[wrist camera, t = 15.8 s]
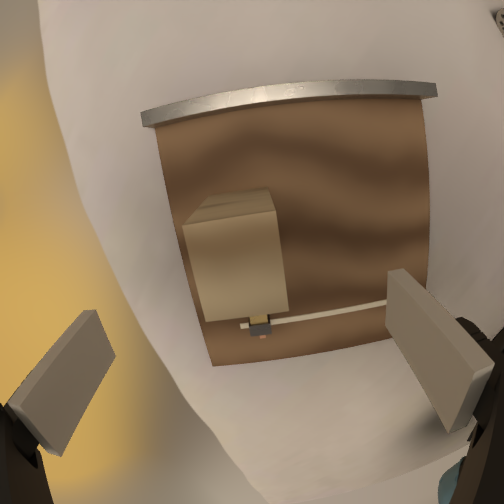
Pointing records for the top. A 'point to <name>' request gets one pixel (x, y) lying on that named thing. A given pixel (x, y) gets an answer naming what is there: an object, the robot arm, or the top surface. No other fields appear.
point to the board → (309, 200)
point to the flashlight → (500, 20)
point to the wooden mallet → (238, 258)
